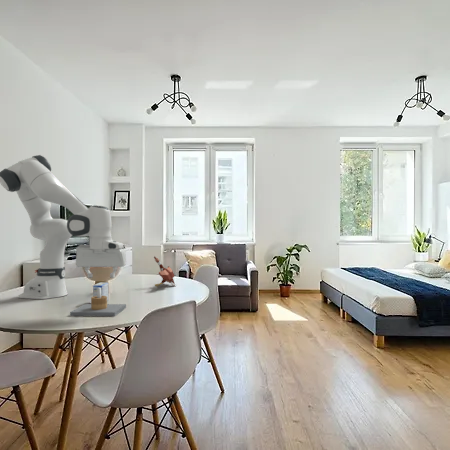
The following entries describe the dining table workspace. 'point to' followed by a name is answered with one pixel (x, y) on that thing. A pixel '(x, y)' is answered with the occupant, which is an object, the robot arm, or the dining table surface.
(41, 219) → the robot arm
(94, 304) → the bead
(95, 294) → the medicine box
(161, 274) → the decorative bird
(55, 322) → the dining table surface
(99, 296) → the stand
